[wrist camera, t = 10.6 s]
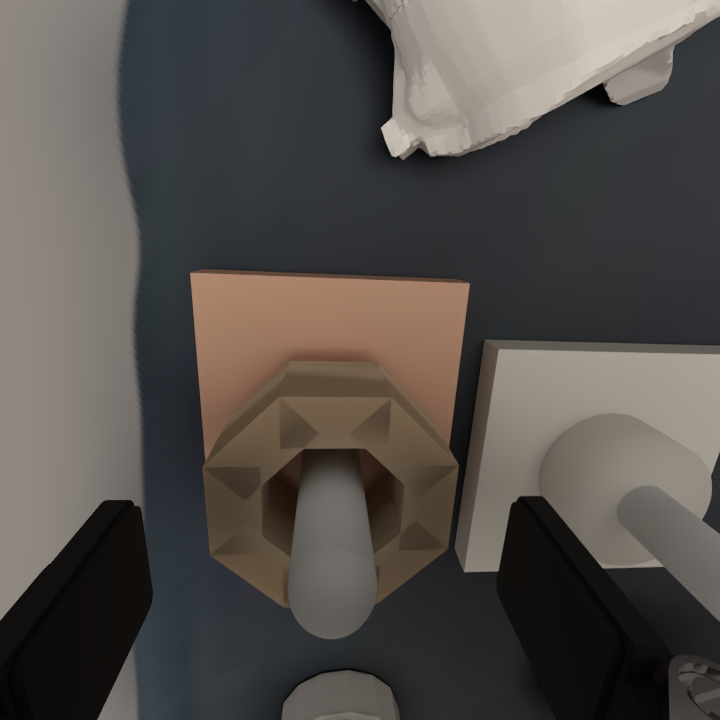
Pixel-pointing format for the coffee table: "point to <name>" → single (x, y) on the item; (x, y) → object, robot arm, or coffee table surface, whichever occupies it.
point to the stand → (599, 453)
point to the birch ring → (328, 431)
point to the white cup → (341, 698)
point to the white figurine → (520, 62)
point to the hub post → (336, 344)
